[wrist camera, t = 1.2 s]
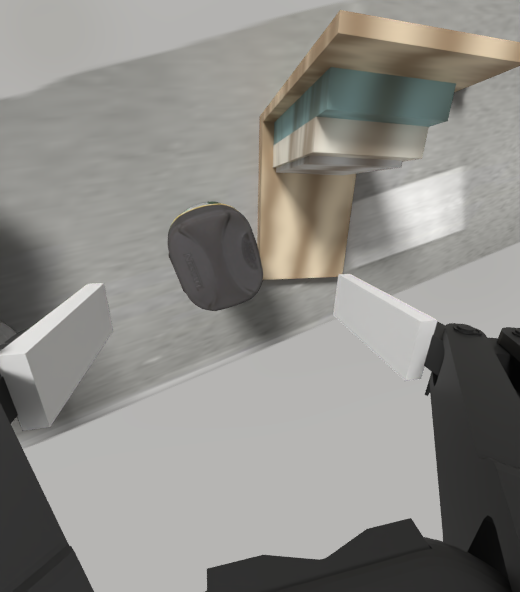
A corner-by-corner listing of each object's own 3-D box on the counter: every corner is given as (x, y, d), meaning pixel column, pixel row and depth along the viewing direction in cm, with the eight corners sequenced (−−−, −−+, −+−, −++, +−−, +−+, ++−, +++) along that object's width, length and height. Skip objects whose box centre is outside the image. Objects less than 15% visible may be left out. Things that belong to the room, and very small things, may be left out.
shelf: (256, 276, 43) (307, 348, 23) (259, 116, 35) (340, 9, 15) (336, 273, 46) (444, 335, 25) (355, 124, 38) (531, 44, 18)
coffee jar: (245, 258, 41) (277, 301, 24) (197, 274, 41) (194, 330, 24) (226, 194, 37) (247, 193, 21) (172, 210, 37) (147, 224, 20)
